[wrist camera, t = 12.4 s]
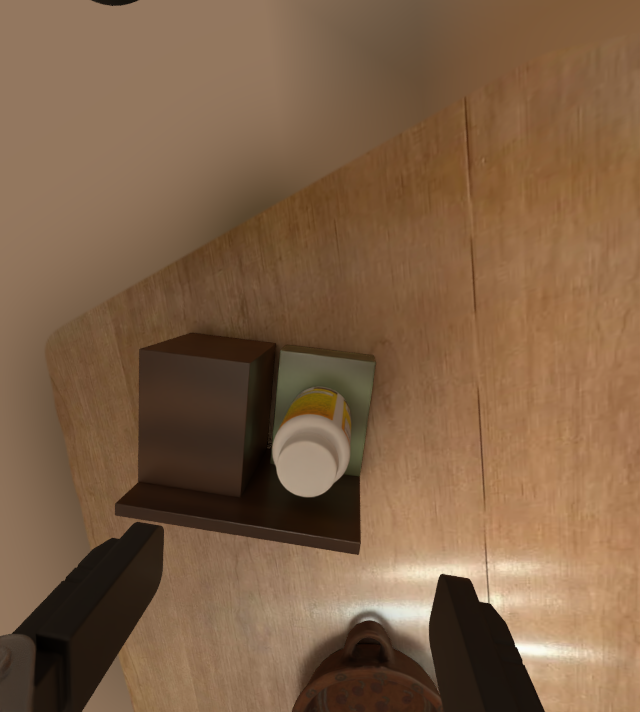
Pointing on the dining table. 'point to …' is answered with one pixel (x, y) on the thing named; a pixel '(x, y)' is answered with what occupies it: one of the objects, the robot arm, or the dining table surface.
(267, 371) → the shelf
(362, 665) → the dish
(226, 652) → the dining table surface
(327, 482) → the supplement bottle
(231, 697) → the dining table surface
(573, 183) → the dining table surface
